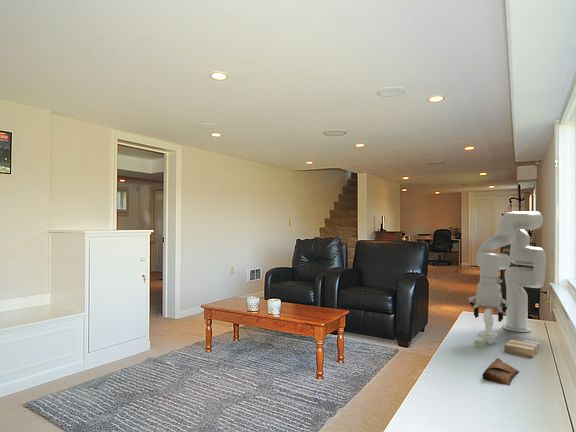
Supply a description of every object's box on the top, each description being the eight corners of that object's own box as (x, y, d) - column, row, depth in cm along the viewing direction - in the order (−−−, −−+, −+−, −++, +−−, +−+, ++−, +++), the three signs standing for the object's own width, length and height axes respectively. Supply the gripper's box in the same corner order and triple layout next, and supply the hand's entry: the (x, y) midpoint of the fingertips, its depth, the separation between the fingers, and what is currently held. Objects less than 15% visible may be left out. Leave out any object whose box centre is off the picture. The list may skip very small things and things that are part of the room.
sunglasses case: (510, 386, 130) (499, 366, 132) (490, 392, 133) (479, 372, 135) (520, 371, 144) (509, 353, 146) (501, 377, 147) (491, 359, 150)
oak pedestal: (510, 346, 174) (511, 339, 174) (537, 351, 168) (537, 344, 168) (504, 351, 166) (504, 344, 166) (532, 357, 160) (532, 350, 160)
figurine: (499, 341, 181) (499, 308, 182) (494, 346, 174) (495, 311, 174) (482, 338, 186) (482, 305, 186) (477, 342, 178) (477, 308, 179)
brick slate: (522, 347, 173) (522, 340, 173) (523, 346, 175) (524, 339, 175) (538, 351, 169) (538, 344, 169) (539, 349, 171) (539, 342, 171)
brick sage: (478, 344, 177) (478, 337, 177) (485, 345, 175) (485, 338, 175) (474, 347, 172) (474, 340, 172) (482, 348, 171) (482, 341, 171)
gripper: (512, 282, 178) (511, 321, 177) (471, 278, 189) (470, 314, 188) (508, 283, 172) (507, 324, 171) (466, 279, 183) (465, 316, 183)
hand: (488, 319), depth 180 cm, fingers open, 9 cm apart
